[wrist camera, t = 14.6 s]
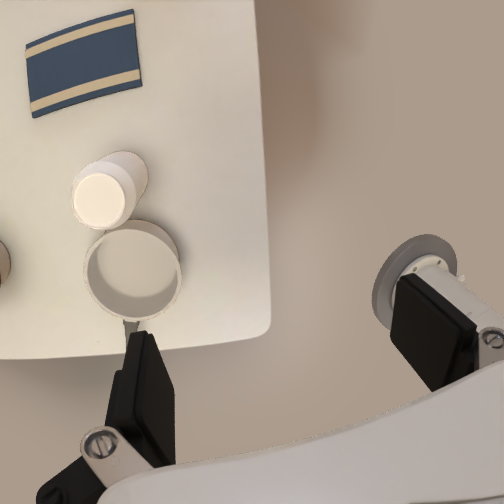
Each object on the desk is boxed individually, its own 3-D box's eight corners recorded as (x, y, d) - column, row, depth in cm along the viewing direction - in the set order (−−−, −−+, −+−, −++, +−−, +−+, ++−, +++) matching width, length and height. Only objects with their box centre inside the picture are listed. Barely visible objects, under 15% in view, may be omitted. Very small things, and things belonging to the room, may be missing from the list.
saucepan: (97, 340, 43) (90, 365, 38) (96, 209, 36) (83, 223, 31) (172, 349, 46) (172, 375, 41) (187, 220, 39) (188, 236, 34)
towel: (134, 10, 27) (132, 8, 27) (142, 86, 31) (141, 85, 31) (28, 45, 26) (25, 44, 25) (34, 118, 30) (31, 118, 29)
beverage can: (159, 173, 36) (148, 197, 25) (126, 212, 37) (103, 250, 26) (121, 139, 33) (92, 149, 23) (89, 179, 34) (51, 206, 24)
